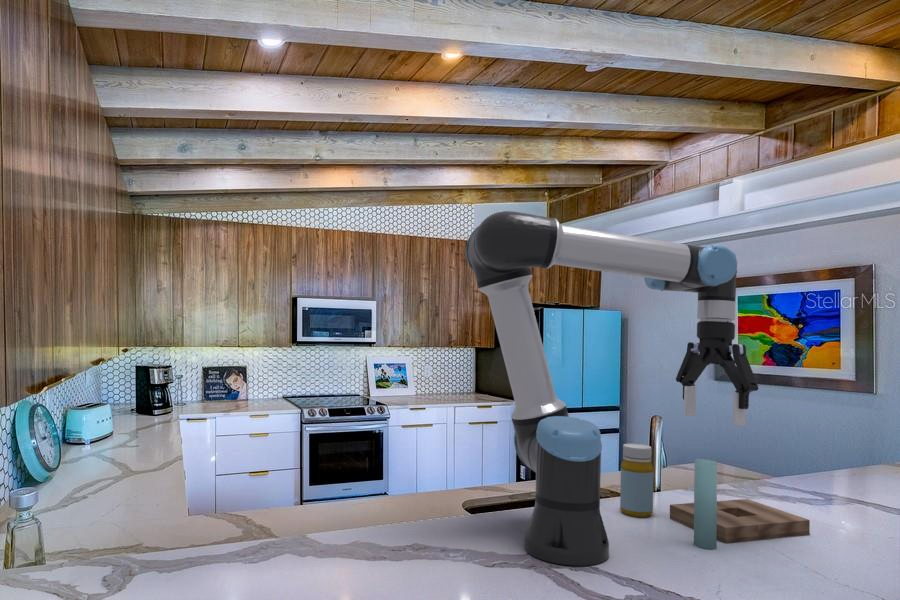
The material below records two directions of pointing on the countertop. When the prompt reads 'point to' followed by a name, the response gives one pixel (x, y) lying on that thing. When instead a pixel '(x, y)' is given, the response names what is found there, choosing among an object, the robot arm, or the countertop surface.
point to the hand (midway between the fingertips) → (713, 420)
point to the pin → (705, 503)
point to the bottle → (636, 481)
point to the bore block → (746, 521)
